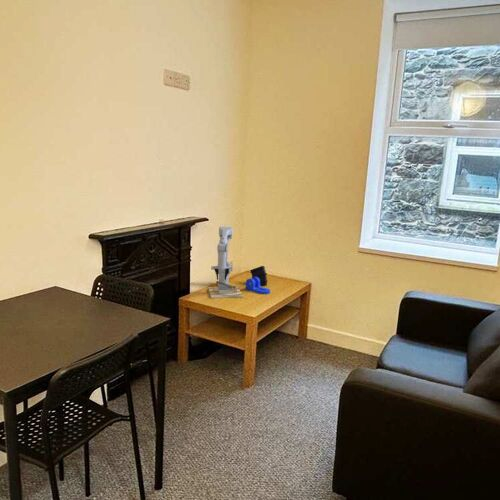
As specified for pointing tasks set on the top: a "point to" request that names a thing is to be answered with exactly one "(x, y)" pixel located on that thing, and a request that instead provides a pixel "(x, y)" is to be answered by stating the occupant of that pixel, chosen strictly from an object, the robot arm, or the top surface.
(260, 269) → the black rectangular slab
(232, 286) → the retention strap
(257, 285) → the bracket
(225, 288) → the heat sink
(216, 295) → the board
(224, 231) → the robot arm
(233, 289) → the lugs
